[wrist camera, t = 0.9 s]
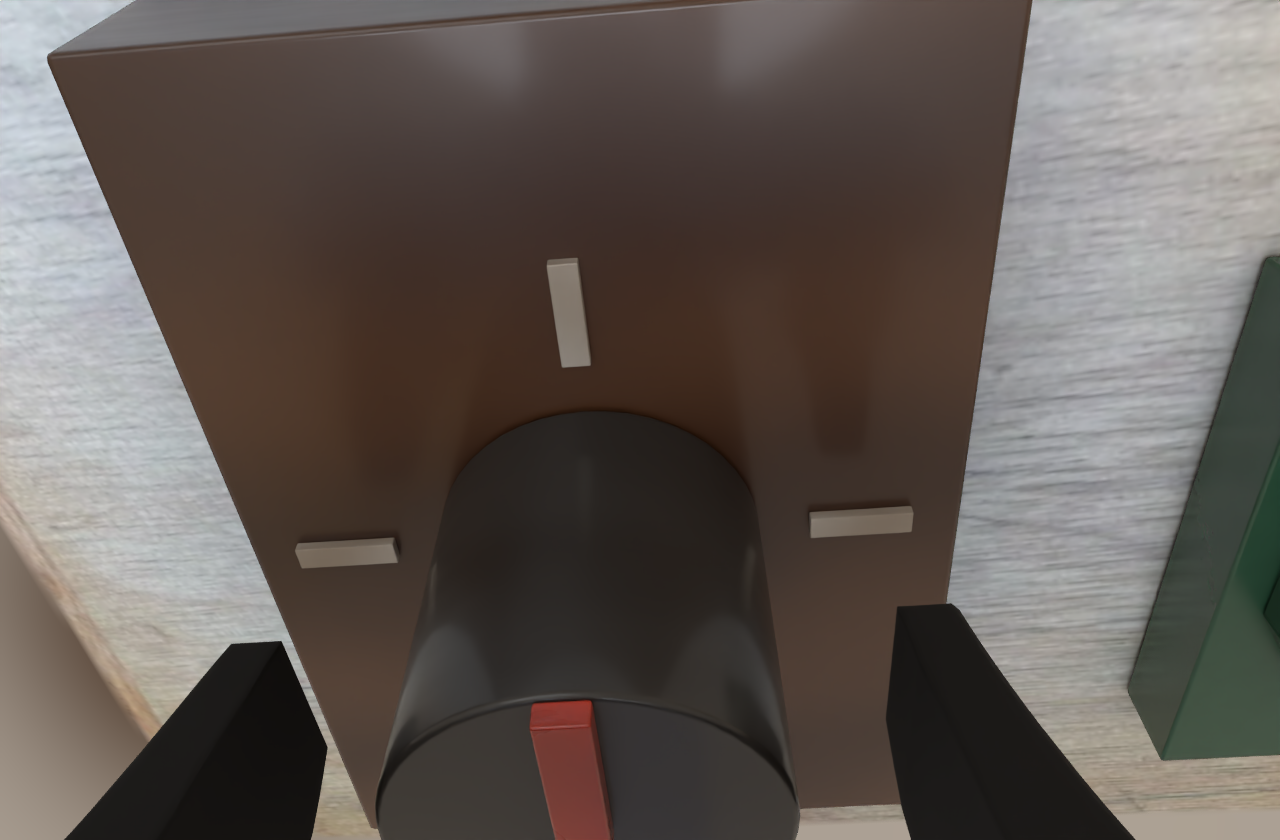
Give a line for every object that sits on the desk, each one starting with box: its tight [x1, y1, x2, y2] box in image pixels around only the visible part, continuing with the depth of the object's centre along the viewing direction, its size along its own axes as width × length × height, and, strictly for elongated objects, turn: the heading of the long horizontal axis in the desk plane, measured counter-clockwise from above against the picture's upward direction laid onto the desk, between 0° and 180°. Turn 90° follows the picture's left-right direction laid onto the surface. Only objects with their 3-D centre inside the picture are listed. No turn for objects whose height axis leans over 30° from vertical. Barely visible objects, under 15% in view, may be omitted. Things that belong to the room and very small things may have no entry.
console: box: [47, 0, 1032, 829], centre depth 15 cm, size 14×10×3 cm
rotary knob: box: [375, 411, 800, 840], centre depth 12 cm, size 4×4×5 cm
